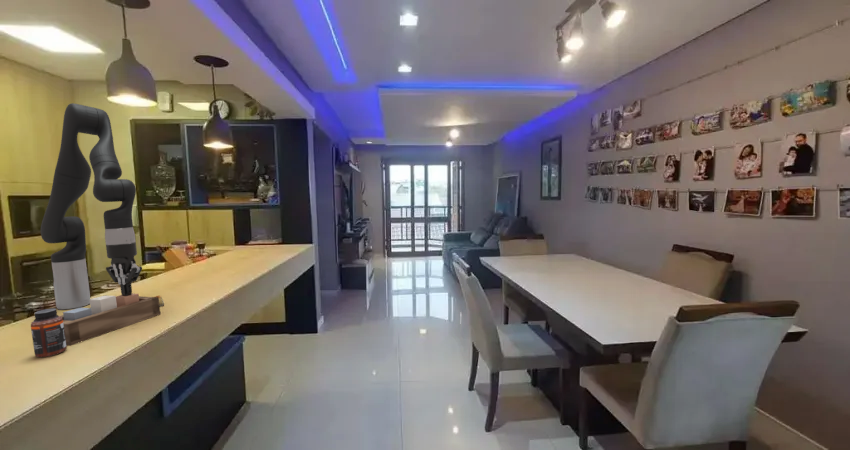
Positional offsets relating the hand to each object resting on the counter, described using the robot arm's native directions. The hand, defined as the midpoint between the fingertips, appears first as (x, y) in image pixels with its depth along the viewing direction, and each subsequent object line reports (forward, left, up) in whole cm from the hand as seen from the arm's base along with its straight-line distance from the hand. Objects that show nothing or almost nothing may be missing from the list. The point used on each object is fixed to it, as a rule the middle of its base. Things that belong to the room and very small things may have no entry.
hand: (127, 295), depth 124 cm
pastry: (-6, +12, -9) cm, 16 cm away
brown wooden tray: (0, -7, -8) cm, 11 cm away
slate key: (0, -14, -6) cm, 15 cm away
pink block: (0, 0, -5) cm, 5 cm away
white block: (0, -7, -4) cm, 8 cm away
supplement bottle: (+7, -25, -8) cm, 27 cm away
